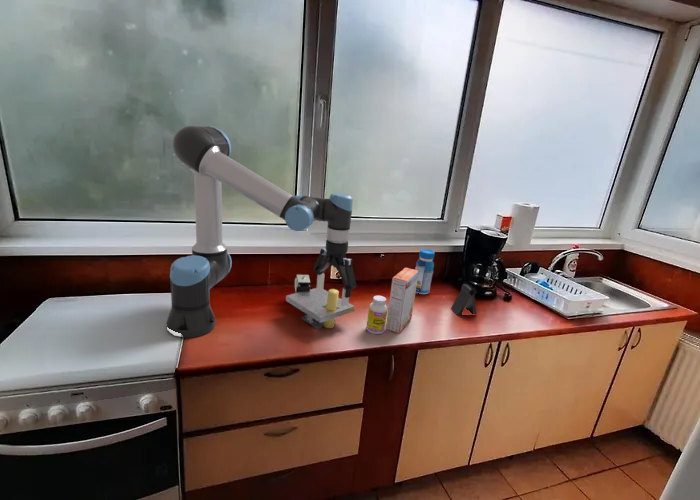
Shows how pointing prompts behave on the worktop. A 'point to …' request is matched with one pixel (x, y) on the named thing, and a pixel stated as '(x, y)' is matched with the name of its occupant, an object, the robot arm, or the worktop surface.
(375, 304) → the supplement bottle
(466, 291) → the phone stand
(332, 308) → the pin
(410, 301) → the cracker box
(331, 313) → the gray slab
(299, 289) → the pneumatic valve
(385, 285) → the worktop surface
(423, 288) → the beverage bottle
